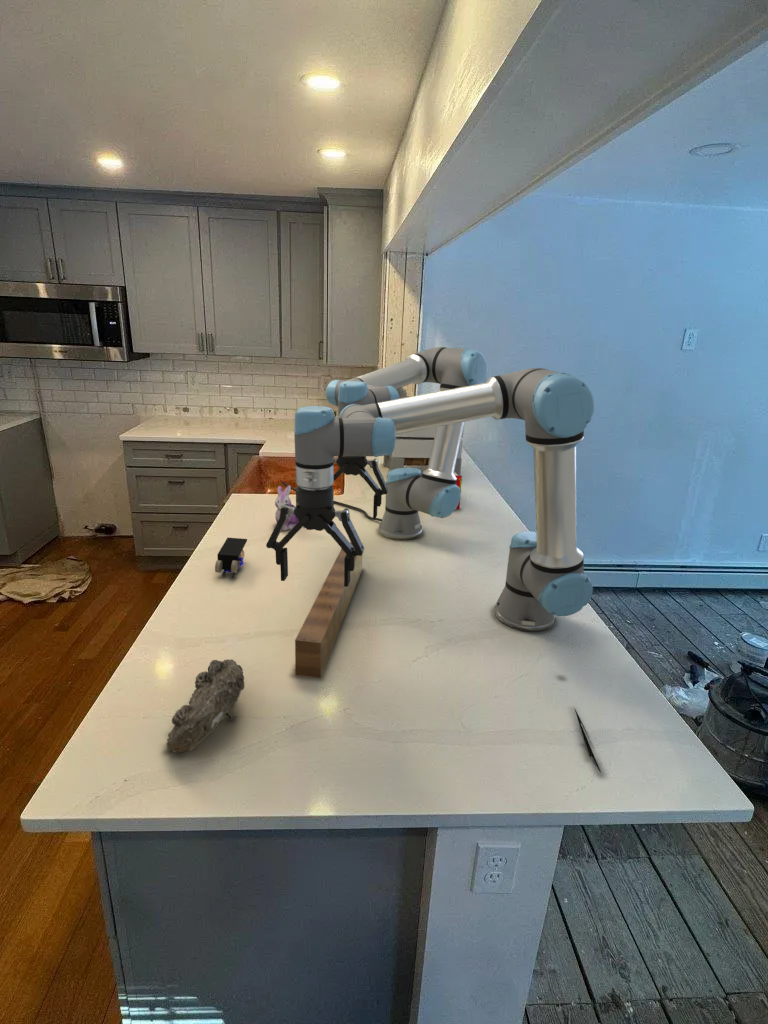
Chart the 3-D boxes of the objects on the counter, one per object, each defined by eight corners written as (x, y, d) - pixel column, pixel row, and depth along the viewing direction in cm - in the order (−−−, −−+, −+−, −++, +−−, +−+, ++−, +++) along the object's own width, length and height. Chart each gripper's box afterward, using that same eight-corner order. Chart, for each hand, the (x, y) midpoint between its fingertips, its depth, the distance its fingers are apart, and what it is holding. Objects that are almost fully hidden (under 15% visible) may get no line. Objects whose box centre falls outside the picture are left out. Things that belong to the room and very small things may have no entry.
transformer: (382, 463, 289) (386, 382, 275) (445, 464, 293) (451, 384, 279) (390, 482, 257) (394, 392, 243) (460, 483, 261) (468, 394, 247)
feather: (561, 682, 125) (567, 675, 124) (600, 777, 98) (608, 769, 98) (555, 678, 125) (561, 671, 124) (592, 772, 98) (600, 765, 98)
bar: (344, 568, 172) (344, 541, 169) (362, 569, 171) (363, 543, 168) (295, 675, 121) (295, 640, 118) (320, 678, 121) (320, 643, 118)
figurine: (278, 533, 195) (277, 491, 190) (270, 523, 204) (269, 483, 199) (304, 529, 199) (304, 488, 194) (295, 519, 208) (294, 480, 203)
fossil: (192, 660, 117) (244, 628, 112) (224, 691, 120) (276, 661, 115) (142, 746, 98) (202, 712, 93) (182, 779, 101) (242, 748, 96)
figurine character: (238, 584, 162) (249, 557, 175) (236, 562, 158) (247, 536, 172) (215, 584, 161) (227, 556, 175) (212, 561, 158) (225, 535, 171)
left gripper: (303, 441, 150) (304, 516, 157) (397, 447, 147) (393, 523, 154) (310, 434, 157) (311, 507, 164) (400, 440, 154) (396, 513, 161)
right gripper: (247, 486, 111) (252, 583, 118) (373, 495, 108) (371, 594, 115) (260, 475, 118) (264, 568, 125) (379, 484, 115) (376, 578, 122)
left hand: (351, 515), depth 159 cm, fingers open, 13 cm apart
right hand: (315, 581), depth 120 cm, fingers open, 13 cm apart
